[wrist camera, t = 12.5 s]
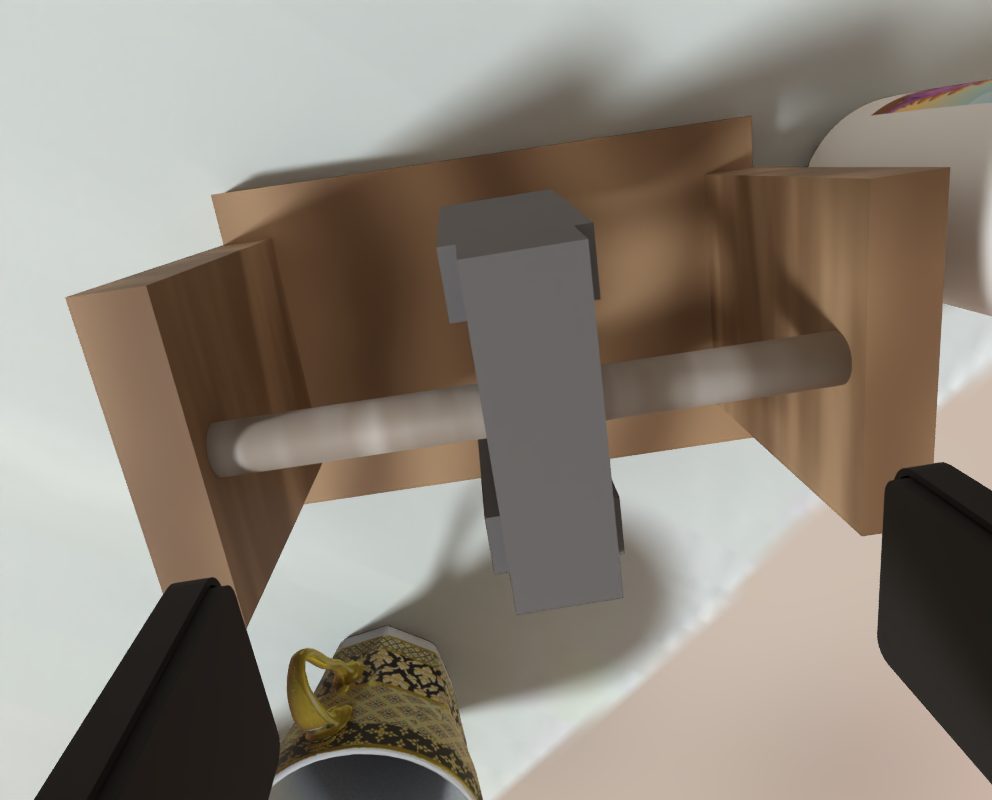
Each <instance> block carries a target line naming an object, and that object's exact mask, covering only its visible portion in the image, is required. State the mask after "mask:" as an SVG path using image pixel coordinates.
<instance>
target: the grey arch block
mask: <svg viewBox="0 0 992 800" xmlns="http://www.w3.org/2000/svg"><path fill="white" fill-rule="evenodd" d="M436 249H437V255H438V260H439V266H440V272H441V277H442V283H443V288H444V294H445V300H446V305H447V311H448V316H449V322H450V323H456V322H463V321H467V324H468V330H469V336H470V342H471V348H472V354H473V360H474V366H475V372H476V377H477V383H478V389H479V395H480V401H481V407H482V413H483V419H484V425H485V431H486V437H487V438H485V439H478V447H479V459H480V470H481V482H482V493H483V505H484V516H485V523H486V529H487V534H488V540H489V545H490V551H491V557H492V562H493V568H494V573H495V574H501V573H507V572H509V573H510V578H511V584H512V590H513V596H514V602H515V608H516V614H517V615H519V614H525V613H531V612H538V611H544V610H550V609H556V608H563V607H569V606H575V605H581V604H588V603H594V602H600V601H606V600H613V599H619V598H623V591H622V581H621V571H620V560H619V554H625V552H624V542H623V531H622V520H621V510H620V499H619V495H618V493H617V491H616V488H615V486H614V484H613V481H612V478H611V468H610V458H609V447H608V437H607V427H606V416H605V406H604V396H603V386H602V375H601V365H600V355H599V344H598V334H597V324H596V314H595V303H594V300H600V299H601V296H600V285H599V274H598V264H597V253H596V242H595V232H594V222H593V221H591V220H590V219H589V218H588V217H586V216H585V215H584V214H582V213H581V212H580V211H579V210H577V209H576V208H575V207H574V206H572V205H571V204H570V203H569V202H567V201H566V200H565V199H564V198H562V197H561V196H560V195H559V194H557V193H556V192H555V191H553V190H552V189H548V190H542V191H536V192H529V193H523V194H517V195H511V196H504V197H498V198H492V199H486V200H479V201H473V202H467V203H461V204H455V205H448V206H442V207H440V211H439V222H438V233H437V244H436Z"/></svg>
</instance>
